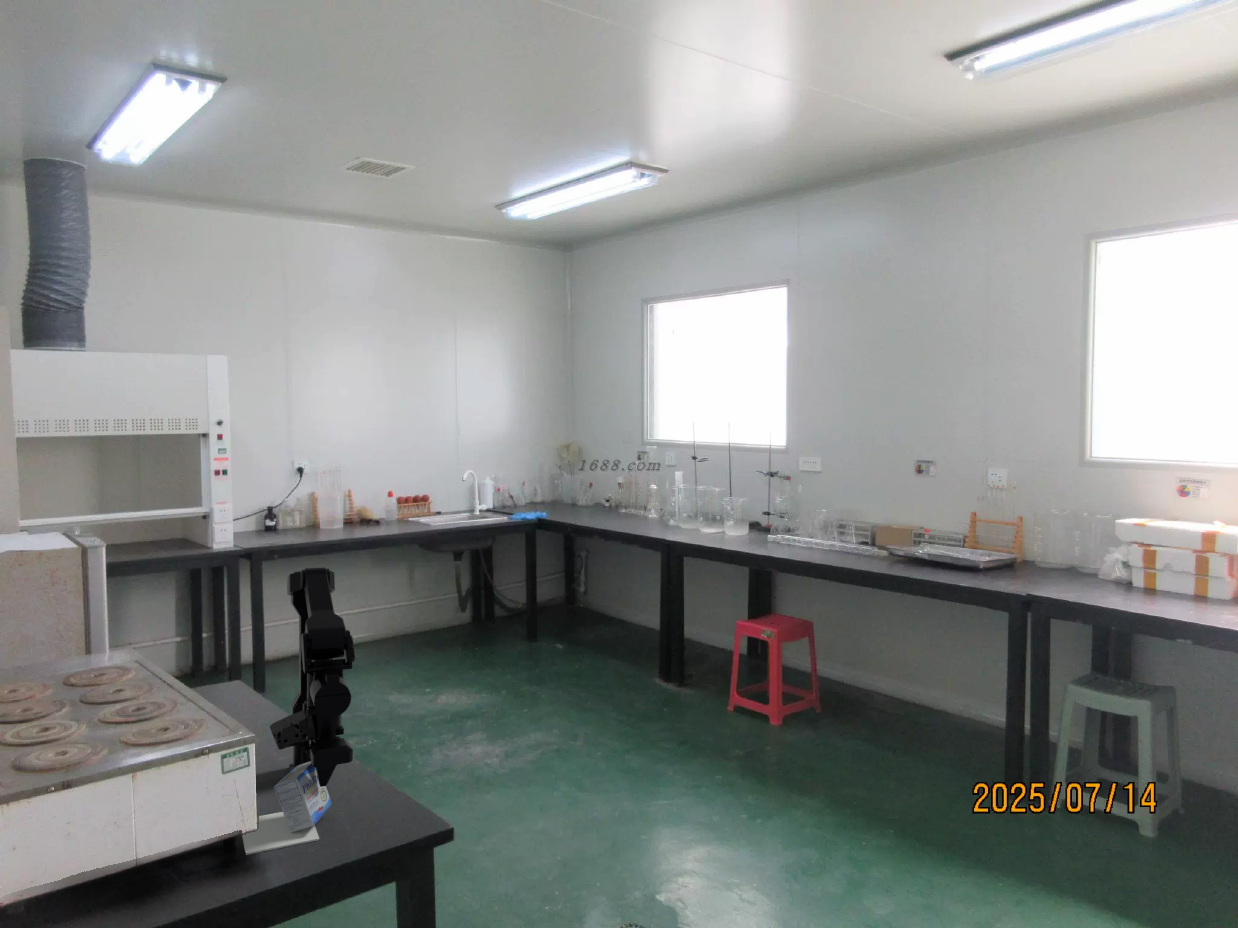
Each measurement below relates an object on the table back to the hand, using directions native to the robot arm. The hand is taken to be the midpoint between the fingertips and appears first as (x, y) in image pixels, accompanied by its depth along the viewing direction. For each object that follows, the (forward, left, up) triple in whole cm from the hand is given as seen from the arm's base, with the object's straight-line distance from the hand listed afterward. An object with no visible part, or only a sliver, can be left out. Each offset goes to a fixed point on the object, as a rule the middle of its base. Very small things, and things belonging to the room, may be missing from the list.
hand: (322, 785), depth 144 cm
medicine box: (0, -2, -6) cm, 6 cm away
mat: (0, -7, -6) cm, 10 cm away
